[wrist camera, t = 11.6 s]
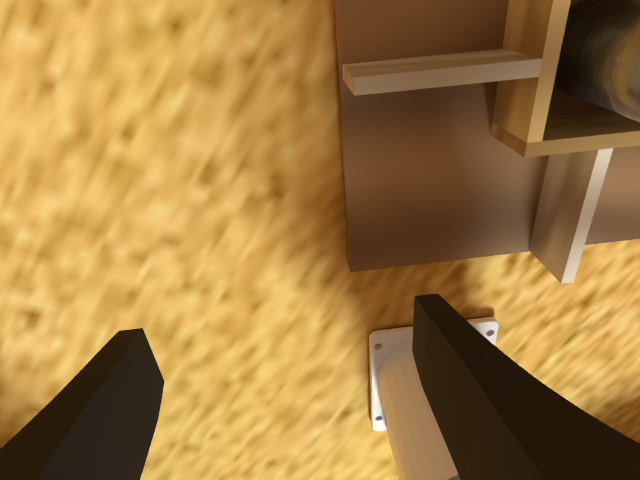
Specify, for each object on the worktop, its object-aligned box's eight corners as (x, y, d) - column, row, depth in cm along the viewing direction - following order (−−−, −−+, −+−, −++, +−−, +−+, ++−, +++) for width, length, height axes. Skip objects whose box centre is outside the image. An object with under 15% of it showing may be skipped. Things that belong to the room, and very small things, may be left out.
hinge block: (630, 231, 23) (688, 270, 20) (348, 263, 23) (359, 308, 19) (768, -152, 15) (905, -193, 12) (328, -114, 14) (342, -145, 11)
